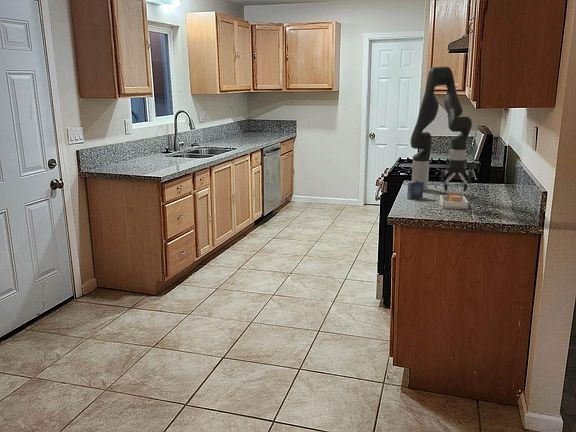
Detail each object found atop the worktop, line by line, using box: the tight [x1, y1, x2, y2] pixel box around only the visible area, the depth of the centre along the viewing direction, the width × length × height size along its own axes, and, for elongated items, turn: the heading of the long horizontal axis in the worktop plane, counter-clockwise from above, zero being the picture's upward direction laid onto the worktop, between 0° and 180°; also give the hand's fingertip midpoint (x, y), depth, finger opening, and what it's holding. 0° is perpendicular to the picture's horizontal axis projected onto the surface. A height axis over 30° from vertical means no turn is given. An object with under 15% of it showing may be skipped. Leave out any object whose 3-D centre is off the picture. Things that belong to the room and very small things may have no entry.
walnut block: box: [447, 191, 459, 201], centre depth 256 cm, size 4×4×4 cm
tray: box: [439, 194, 469, 210], centre depth 253 cm, size 15×12×4 cm
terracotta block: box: [449, 194, 461, 202], centre depth 249 cm, size 4×4×4 cm
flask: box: [406, 178, 424, 200], centre depth 270 cm, size 9×3×11 cm, turn 109°
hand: (455, 191), depth 249 cm, fingers open, 8 cm apart
